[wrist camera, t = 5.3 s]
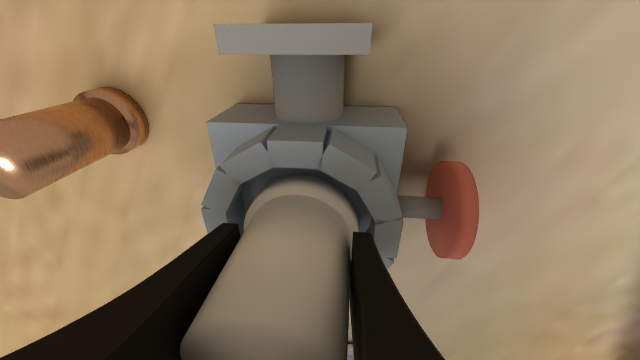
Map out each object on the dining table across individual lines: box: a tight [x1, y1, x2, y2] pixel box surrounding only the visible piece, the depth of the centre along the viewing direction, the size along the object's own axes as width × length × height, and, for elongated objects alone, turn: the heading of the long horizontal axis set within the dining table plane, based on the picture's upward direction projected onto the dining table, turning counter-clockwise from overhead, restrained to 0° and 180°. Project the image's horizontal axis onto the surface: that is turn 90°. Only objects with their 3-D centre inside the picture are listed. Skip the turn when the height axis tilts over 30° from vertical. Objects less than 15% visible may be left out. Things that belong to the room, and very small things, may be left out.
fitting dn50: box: [180, 175, 359, 360], centre depth 9 cm, size 5×5×6 cm
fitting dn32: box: [0, 87, 149, 199], centre depth 12 cm, size 3×3×6 cm
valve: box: [201, 23, 479, 328], centre depth 13 cm, size 15×11×5 cm
